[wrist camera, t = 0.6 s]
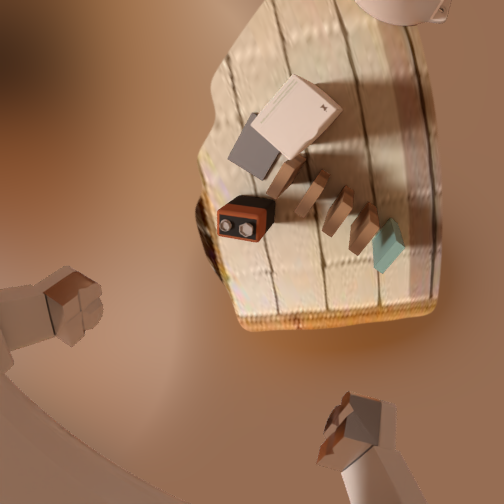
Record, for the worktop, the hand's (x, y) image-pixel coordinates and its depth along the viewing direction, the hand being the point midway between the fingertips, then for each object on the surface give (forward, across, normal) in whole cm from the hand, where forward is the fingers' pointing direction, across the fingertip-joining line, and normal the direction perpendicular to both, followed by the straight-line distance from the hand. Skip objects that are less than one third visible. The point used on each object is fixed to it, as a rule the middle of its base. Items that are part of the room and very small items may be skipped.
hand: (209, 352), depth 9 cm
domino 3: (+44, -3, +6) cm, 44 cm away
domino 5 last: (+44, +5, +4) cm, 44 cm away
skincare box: (+44, +5, -5) cm, 45 cm away
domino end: (+44, -12, +9) cm, 46 cm away
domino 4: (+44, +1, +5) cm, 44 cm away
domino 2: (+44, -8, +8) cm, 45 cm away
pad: (+44, +12, +2) cm, 46 cm away
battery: (+44, +10, +13) cm, 47 cm away
